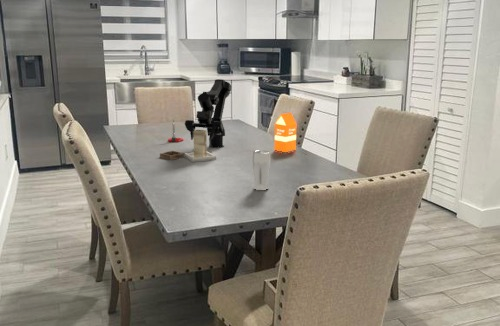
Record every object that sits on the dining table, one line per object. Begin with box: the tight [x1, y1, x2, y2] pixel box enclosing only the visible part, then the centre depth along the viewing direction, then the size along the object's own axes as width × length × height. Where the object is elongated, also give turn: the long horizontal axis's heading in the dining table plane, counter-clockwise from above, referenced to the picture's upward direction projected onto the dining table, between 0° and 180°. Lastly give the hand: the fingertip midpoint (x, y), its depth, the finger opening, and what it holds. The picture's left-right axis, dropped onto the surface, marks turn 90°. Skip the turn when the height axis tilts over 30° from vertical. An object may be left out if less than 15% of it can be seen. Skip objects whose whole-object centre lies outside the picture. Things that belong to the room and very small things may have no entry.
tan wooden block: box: [193, 129, 208, 158], centre depth 238 cm, size 5×5×13 cm
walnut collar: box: [159, 150, 185, 161], centre depth 241 cm, size 8×8×2 cm
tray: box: [184, 150, 217, 163], centre depth 240 cm, size 12×12×2 cm
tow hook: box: [167, 119, 184, 143], centre depth 281 cm, size 8×13×9 cm
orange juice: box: [274, 112, 297, 153], centre depth 256 cm, size 8×9×20 cm
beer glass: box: [252, 149, 271, 191], centre depth 189 cm, size 7×7×15 cm
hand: (200, 139), depth 238 cm, fingers open, 9 cm apart
